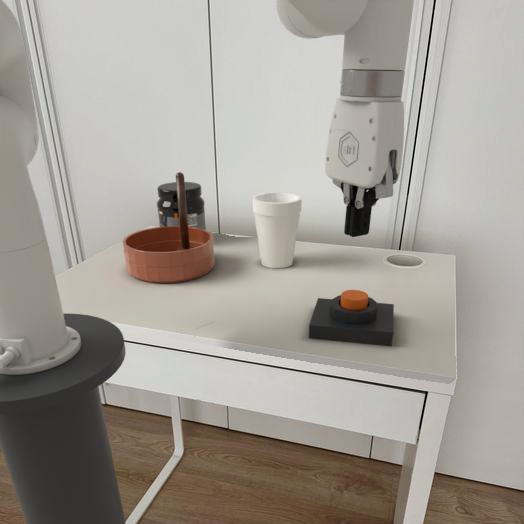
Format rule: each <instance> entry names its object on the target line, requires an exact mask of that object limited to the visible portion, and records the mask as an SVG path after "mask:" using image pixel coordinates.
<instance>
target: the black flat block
mask: <svg viewBox="0 0 524 524" xmlns="http://www.w3.org/2000/svg"><path fill="white" fill-rule="evenodd" d="M340 304H341V294H339V295H337V296H335V297H334V298H325V297H324V298H322V297H318V298H317V300H316V303H315V306H314V309H313V313H312V315H311V318H310V321H309V323H308V339H314V340H322V341H323V340H324V341H335V342H345V343H356V344H366V345H376V346H387V347H392V346H393V340H394V331H395V330H394V327H395V326H394V322H395V321H394V320H395V318H394V317H395V315H394V314H395V304H394V303H385V302H377V301H376V300H375V299H374V298H372V297H370V296H368V305H367V308H365V309H360V310H352V309H347V308H344V307H341V305H340Z"/></svg>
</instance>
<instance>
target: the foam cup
mask: <svg viewBox="0 0 524 524" xmlns="http://www.w3.org/2000/svg"><path fill="white" fill-rule="evenodd" d="M302 199H303V198H302V196H301V195H300V194H297V193H293V192H287V191H285V192H283V191H271V192H270V191H269V192H263V193H257V194H256V195H253V197H252V212H253V215H254V216H253V217H254V222H255V228H256V237H257V244H258V250H259V256H260V263H261V265H262V266H264V267H267V268H271V269H284V268H288V267H291V266H292V265H293V261H294V255H295V248H296V242H297V235H298V229H299V224H300V223H299V222H300V215H301V212H302V203H303V201H302Z"/></svg>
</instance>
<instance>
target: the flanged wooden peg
mask: <svg viewBox="0 0 524 524" xmlns="http://www.w3.org/2000/svg"><path fill="white" fill-rule="evenodd" d="M175 182H176V187H177V198H178V209H179V220H180V232H181V243H182V246H181V247H178V248H177V251H181V250H186V249H191V248H195V247H193V246H190V242H189V230H188V218H187V205H186V193H185V182H186V181H185V175H184V173H183V172H181V171H179V172H176V174H175Z"/></svg>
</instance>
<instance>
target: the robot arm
mask: <svg viewBox="0 0 524 524" xmlns="http://www.w3.org/2000/svg"><path fill="white" fill-rule="evenodd" d="M414 3H415V0H276V11H277V15H278V18H279V20H280V22H281V24H282V25H283V26H284V28H285V29H286V30H287V31H288V32H289V33H291V34H292V35H294V36H295V37H298V38H302V39H318V38H319V39H320V38H323V37H331V36H342V35H343V36H344V37H343V49H342V63H341V65H342V66H341V69H342V70H341V77H340V90H339V92H340V93H339V97H338V98H336V99H335V102H334V105H333V110H332V114H331V118H330V124H329V130H328V135H327V145H326V152H325V153H326V154H325V164H324V166H325V167H324V170H325V171H324V172H325V174H326V176H327V177H328V178H330V179H332V183H333V185H334V186H336V187H337V188H339V189H340V190H341V192H342V194H343V204H344V205H345V206H346V207H345V216H344V217H345V219H344V230H343V233H344V235H346V236H349V237H352V238H357V237H361V236H366V235H368V234H369V233H370V227H371V219H372V211H373V207H375V206H376V205H377V202H378V201H379V200H380V199H387V198H391V197H393V196H394V185H395V184H396V183H397V182H398V180H399V178H400V173H401V168H402V163H403V153H404V141H405V140H404V139H405V107H404V106H405V105H404V104H405V103H404V101H402V99H403V98H402V97H403V90H404V82H405V74H406V67H407V66H406V65H407V57H408V51H409V42H410V34H411V28H412V27H411V26H412V19H413V13H414V12H413V11H414V5H415V4H414ZM28 62H29V61H28V57H27V51H26V45H25V41H24V36H23V33H22V30H21V27H20V25H19V22H18V20H17V18H16V16H15V14H14V13H13V11H12V10H11V8H10V7H9V6H8V5H7V4H6V2H5V1H3V0H0V374H6V375H23V374H31V373H36V372H41V371H44V370H48V369H51V368H53V367H56V366H59V365H61V364H63V363H64V362H66V361H68V360H69V359H71V358H72V357H73V356H74V355H75V354H77V352H78V351H79V350H80V348H81V338H80V335H79V333H78V332H77V331H76V330H74V329H72V328H70V327H67V326H66V324H65V320H64V315H63V313H64V311H63V307H62V302H61V298H60V297H61V296H60V293H59V288H58V284H57V279H56V274H55V270H54V269H55V268H54V264H53V261H52V256H51V251H50V247H49V243H48V238H47V234H46V230H45V225H44V220H43V217H42V212H41V209H40V205H39V202H38V199H37V195H36V193H35V189H34V186H33V182H32V180H31V176H30V172H29V168H28V166H29V164H30V163H31V162H32V161H33V159H34V158H35V156H36V153H37V150H38V148H39V126H38V119H37V113H36V107H35V101H34V95H33V87H32V81H31V75H30V69H29V63H28Z"/></svg>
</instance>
